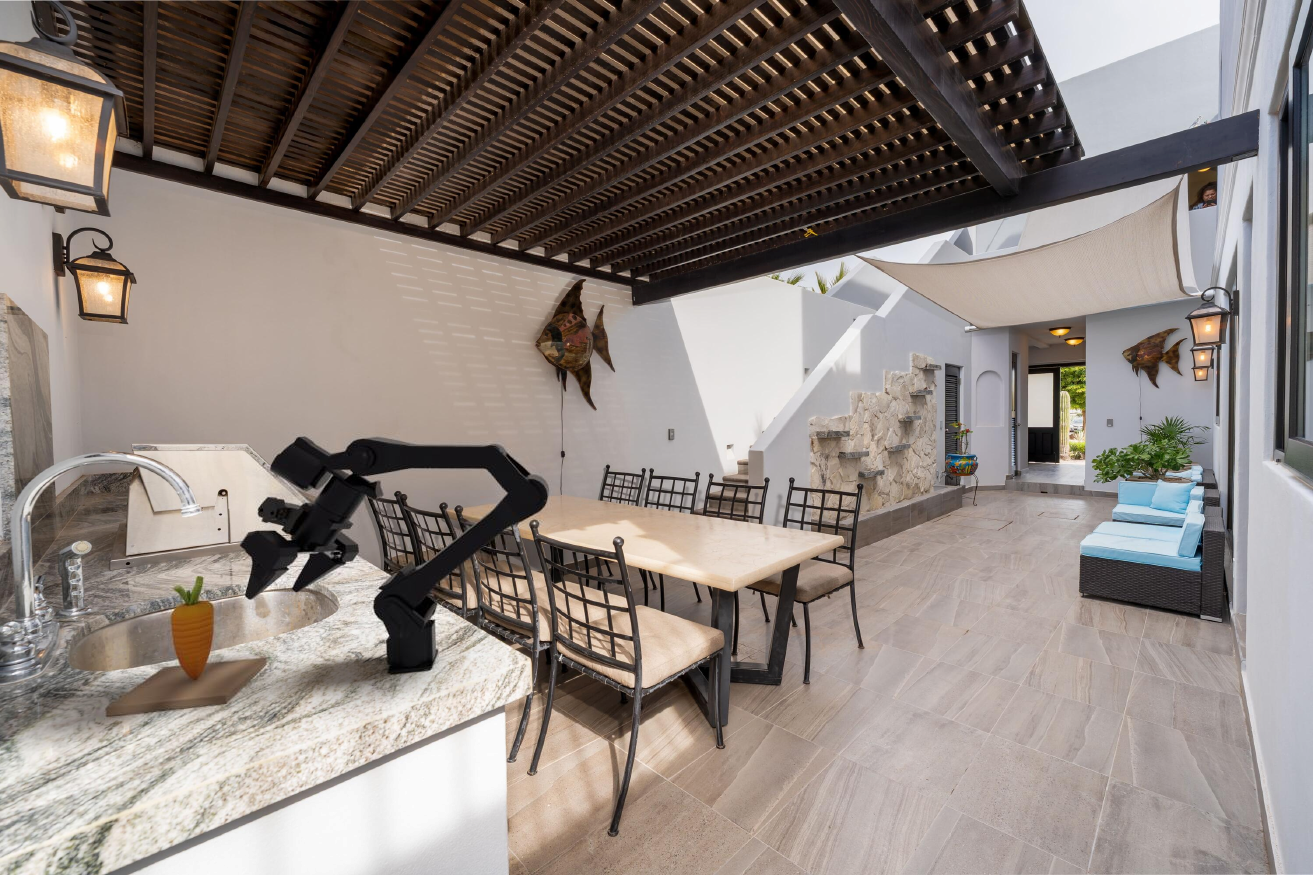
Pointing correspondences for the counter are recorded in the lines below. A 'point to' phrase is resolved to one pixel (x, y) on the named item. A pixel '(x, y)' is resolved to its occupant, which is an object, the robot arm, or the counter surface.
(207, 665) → the walnut board
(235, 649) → the counter surface
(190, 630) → the carrot
